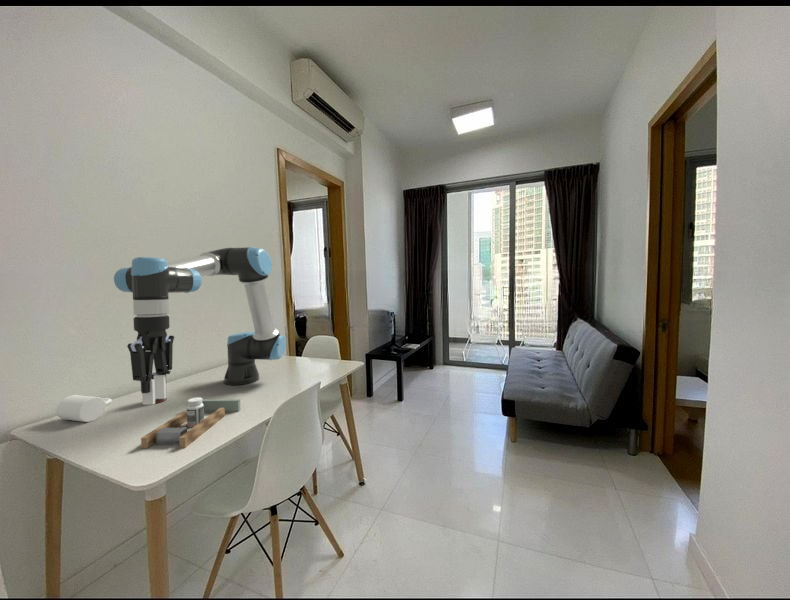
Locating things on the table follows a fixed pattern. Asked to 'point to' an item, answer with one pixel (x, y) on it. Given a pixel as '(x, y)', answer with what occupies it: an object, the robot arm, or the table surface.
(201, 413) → the pill bottle
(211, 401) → the door edge rail
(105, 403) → the mug
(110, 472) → the table surface
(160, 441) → the tall gray brick
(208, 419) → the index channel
